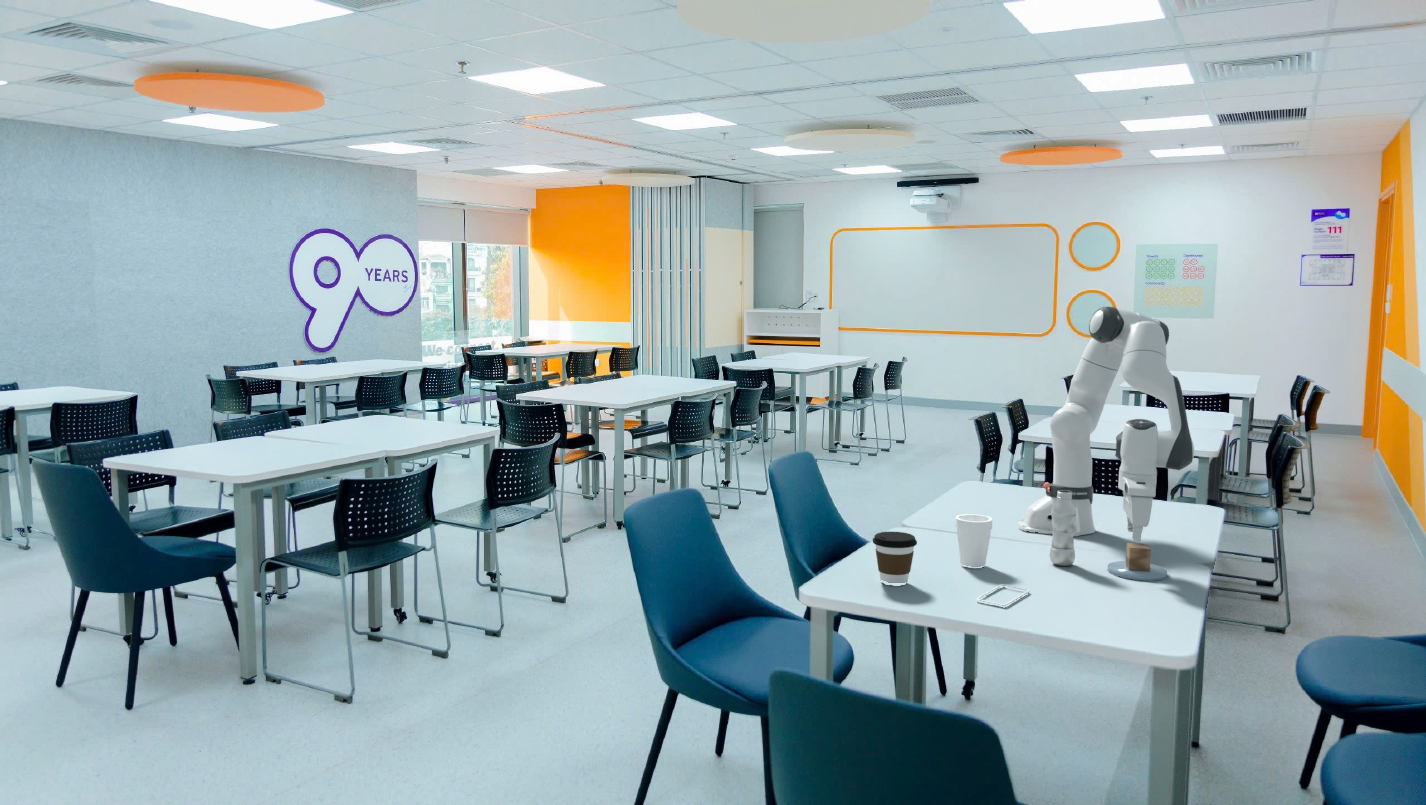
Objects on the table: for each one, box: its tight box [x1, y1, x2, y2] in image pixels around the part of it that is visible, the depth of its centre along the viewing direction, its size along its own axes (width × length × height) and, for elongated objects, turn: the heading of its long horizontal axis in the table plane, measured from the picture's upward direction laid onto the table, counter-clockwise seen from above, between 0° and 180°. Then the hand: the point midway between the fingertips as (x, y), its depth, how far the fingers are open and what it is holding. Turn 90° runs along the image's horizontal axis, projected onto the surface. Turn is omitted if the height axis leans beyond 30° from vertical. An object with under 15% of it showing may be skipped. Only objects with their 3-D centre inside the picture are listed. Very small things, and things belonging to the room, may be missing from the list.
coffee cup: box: [872, 531, 918, 583], centre depth 232 cm, size 11×11×12 cm
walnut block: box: [1125, 542, 1152, 572], centre depth 240 cm, size 5×5×6 cm
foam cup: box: [955, 513, 993, 567], centre depth 247 cm, size 10×9×13 cm
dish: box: [1107, 560, 1168, 582], centre depth 240 cm, size 14×14×1 cm
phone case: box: [975, 584, 1031, 606], centre depth 221 cm, size 7×1×15 cm
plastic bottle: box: [1048, 490, 1077, 567], centre depth 247 cm, size 6×7×20 cm
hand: (1133, 535), depth 240 cm, fingers open, 8 cm apart
